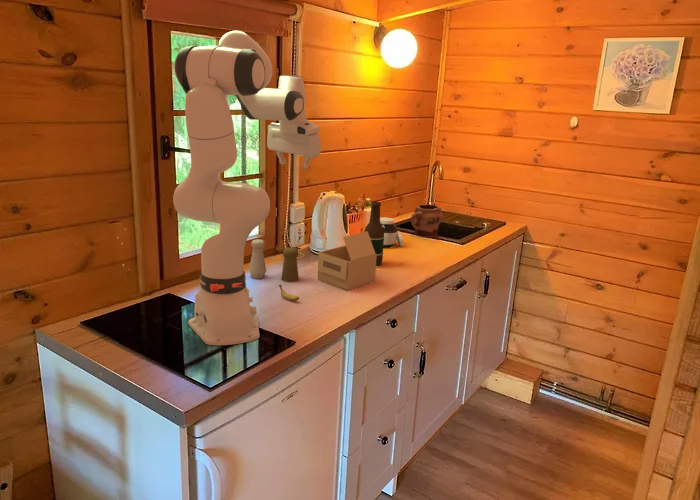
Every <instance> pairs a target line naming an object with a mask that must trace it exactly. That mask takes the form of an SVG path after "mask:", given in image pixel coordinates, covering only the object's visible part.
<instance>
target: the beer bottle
mask: <svg viewBox="0 0 700 500" xmlns="http://www.w3.org/2000/svg"><path fill="white" fill-rule="evenodd" d="M370 205H371V206H370V207H371V208H370V217H369V221H368V224H367V225H366V226H365V228H364V231H363V232H367V231H368V234H369V237H370V240H371V242H372V245H373V248H374V251H375V254H377V258H376V266H378V267H380V266H382V264H383V257H384V256H383V255H384V248H383V246H384V230H383V228H382V226H381V224H380V218H381V206H382V204H381V202H380V201H378V200H377V201H371V203H370Z"/></svg>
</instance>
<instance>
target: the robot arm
mask: <svg viewBox="0 0 700 500" xmlns="http://www.w3.org/2000/svg"><path fill="white" fill-rule="evenodd" d="M270 59H271V58H270V57H269V56H268V55H267V53H266V52H265V51H264V49H263V48H262V46H260V44H259V43H258V42H256V41H255V39H253V38H252V37H251V36H250V35H249V34H247V33H245V32H244V31H242V30H232V31H229V32H226V33H225V34H223V35H222V37H220V39H219V40H218V44H217V45H204V46H203V45H200V46H198V45H189V46H186V47H182V48H181V49H180V50H179V51H178V53H177V55H176V57H175V61H174V74H175V76H176V79H177V81H178V83H179V85H180V86H181V88H182V89H183V91H184V93H185V94H186V96H185V102H184V103H185V104H184V109H185V111H184V113H185V114H184V115H185V116H184V117H185V125H186V126H185V127H186V132H187V138H188V144H189V145H188V146H189V152H190V153H189V154H190V169H189V172H188V174H187V176H186V177H185V179H183V180H182V181H181V182H180V183H179V184H177V186H176V187H175V190H174V192H173V199H172V202H173V206H174V209H175V211H176V213H177V214H178V215H179V216H182V217H184V218H186V219H189V220H193V221H197V222H203V223H205V222H207V223H216V224H219V226H220V230H219V233H217V234H215V235H212V236H210V237H208V238H207V239H205V240H204V241H203V244H202V245H201V248H200V257H201V259H200V260H201V261H200V262H201V271H200V272H199V273H200V274H199V283H200V285H199V286H200V288H199V289H198V291H197V292H196V293H195V294H194V317H191V318H190V319H189V320H188V321H187V322H188V323H187V324H188V325H189V327H190V328H191V329H192V330H193V331H194V333H196V335H197V336H198V337H199V338H200V339H201V340H202V341H203V343H205V344H206V345H208V346H228V345H229V346H231V345H237V344H244V343H249V342H252V341H254V340H257V339H259V338H260V336H261V335H260V329H259V320H258V313H257V306H256V305H251V303H253V302H254V300H253V299H254V298H253V296H250V289H249V288H248V287H247V281H246V280H247V279H246V272H245V269H244V265H245V264H244V262H245V261H244V260H245V259H244V258H245V247H246V243H247V240H248V238H249V235H250V234H251V233H252V232H253V231H254V230H255V228H257V227H259V225H262V224H263V222H265V220H266V219H267V218H268V216H269V214H270V210H271V200H270V197H269V195H268V193H267V191H266V190H265V189H264V188H261V187H259V186H256V185H253V184H250V183H243V182H234V181H225V180H222V178H221V174H222V173H224V172H226V171H228V170H229V169H231V168H232V167H234V165H235V164H236V162H237V158H238V152H237V151H238V150H237V143H236V135H235V128H234V121H233V116H232V113H231V108H230V104H229V100H228V98H227V96H235V98H236V100H237V101H238V102H239V105H240V107H241V110H242V113H243V115H244V116H245V117H247V119H249V120H251V121H253V120H254V121H255V120H256V121H257V120H258V121H259V120H265V121H278V122H277V123H276V122H270V123H269V124H268V125H267V140H266V141H267V143H266V147H267V148H268V150H269V151H275V154H276V156H277V157H278V159H279V164H280V165H286V164H287V159H286V158H285V156H284V154H285V153H287V154H292V155H297V156H303V158H304V162H302V163H301V169H303V170H304V169H309V163H310V161H311V160H312V158H315V157H318V156H320V155H321V152H322V149H321V137H320V134H319V131H320V127H319V126H318V125H317V124H315V123H313V122H312V121H309V120H308V119H307V117H306V112H305V111H306V110H305V107H306V90H305V82H304V78H303V77H301V76H299V75H293V74H282V75H280V76H279V79H278V87H277V88H274V87H273V88H271V87H267V86H268V84H269V83H270V82H271V80H272V77H273V71H274V70H273V65H272V64H273V63H272V62H271V60H270Z"/></svg>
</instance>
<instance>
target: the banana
mask: <svg viewBox="0 0 700 500" xmlns="http://www.w3.org/2000/svg"><path fill="white" fill-rule="evenodd" d="M278 287H279V288H280V296H281V297H282V298H284V299H285V300H286V301H287V300H288V301H291V302H297V301H298V300H299V299H300V297H299V296H297V295H292V294H291V293H290V294H289V293H287V292H286V291H285V290H284V289H283V288H282V284H280V285H279V284H278Z"/></svg>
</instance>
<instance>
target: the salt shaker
mask: <svg viewBox="0 0 700 500" xmlns="http://www.w3.org/2000/svg"><path fill="white" fill-rule="evenodd" d="M250 244H251V245H250V246H251V248H252V254H251V259H250V262H249V268H248V269H249V270H248V271H249V274H250V277H252V279H257V280H258V279H263V278H264V276H265V275H266V273H267V267H266V261H265V255H264V250H263V248H264V247H265V241H264V240H263V239H258V238H257V239H253V240H252V241H251V243H250Z"/></svg>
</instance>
